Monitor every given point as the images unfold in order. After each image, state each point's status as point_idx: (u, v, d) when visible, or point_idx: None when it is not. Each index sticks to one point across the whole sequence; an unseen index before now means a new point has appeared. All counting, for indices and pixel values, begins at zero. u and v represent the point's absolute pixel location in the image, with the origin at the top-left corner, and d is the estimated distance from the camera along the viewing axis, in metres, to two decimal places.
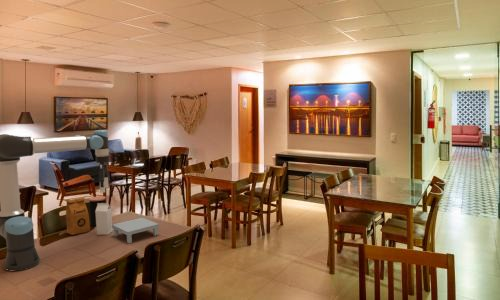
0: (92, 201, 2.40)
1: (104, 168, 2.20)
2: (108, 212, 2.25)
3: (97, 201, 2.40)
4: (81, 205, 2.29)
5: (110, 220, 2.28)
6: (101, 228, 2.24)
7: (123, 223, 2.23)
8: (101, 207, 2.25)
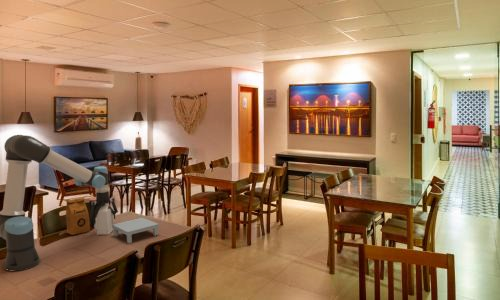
0: (92, 201, 2.40)
1: None
2: (108, 212, 2.25)
3: None
4: (81, 205, 2.29)
5: (110, 220, 2.28)
6: (101, 228, 2.24)
7: (123, 223, 2.23)
8: (101, 207, 2.25)
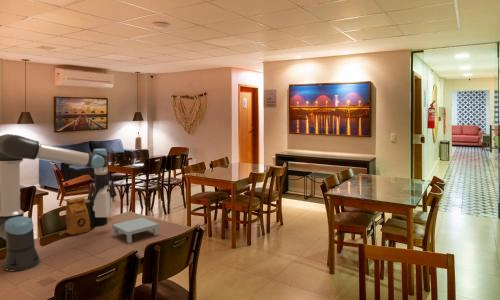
0: None
1: None
2: (107, 195, 2.24)
3: None
4: (81, 205, 2.29)
5: (109, 203, 2.27)
6: (99, 211, 2.23)
7: (123, 223, 2.23)
8: (100, 189, 2.24)
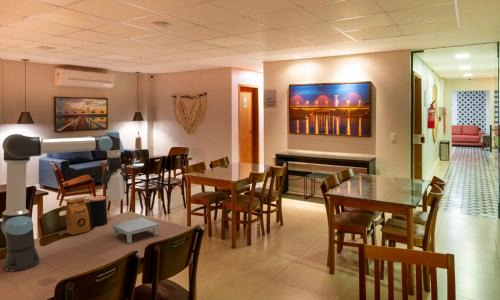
0: (92, 201, 2.40)
1: None
2: (120, 178, 2.21)
3: (97, 201, 2.40)
4: (81, 205, 2.29)
5: (122, 186, 2.24)
6: (113, 194, 2.20)
7: (123, 223, 2.23)
8: (113, 173, 2.20)
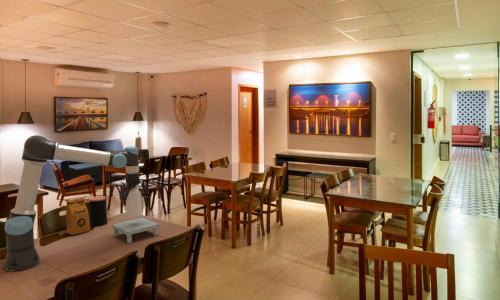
0: (92, 201, 2.40)
1: None
2: (139, 194, 2.18)
3: (97, 201, 2.40)
4: (81, 205, 2.29)
5: (140, 202, 2.21)
6: (131, 210, 2.17)
7: (123, 223, 2.23)
8: (131, 189, 2.18)
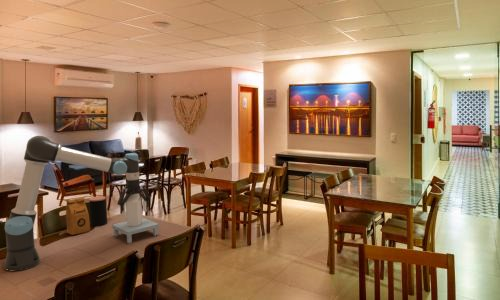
0: (92, 201, 2.40)
1: None
2: (138, 203, 2.19)
3: (97, 201, 2.40)
4: (81, 205, 2.29)
5: (140, 211, 2.22)
6: (131, 219, 2.18)
7: (123, 223, 2.23)
8: (131, 198, 2.18)
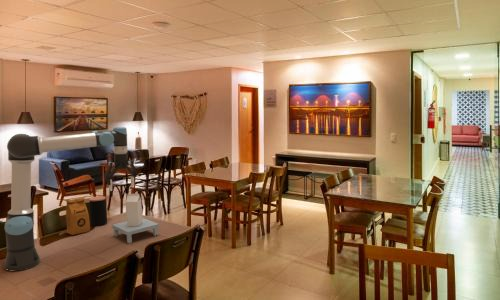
0: (92, 201, 2.40)
1: None
2: (138, 203, 2.19)
3: (97, 201, 2.40)
4: (81, 205, 2.29)
5: (140, 211, 2.22)
6: (131, 219, 2.18)
7: (123, 223, 2.23)
8: (131, 198, 2.18)
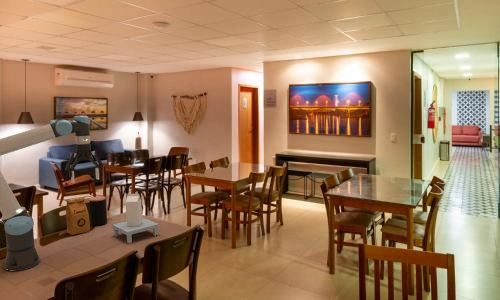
0: (92, 201, 2.40)
1: None
2: (138, 203, 2.19)
3: (97, 201, 2.40)
4: (81, 205, 2.29)
5: (140, 211, 2.22)
6: (131, 219, 2.18)
7: (123, 223, 2.23)
8: (131, 198, 2.18)
